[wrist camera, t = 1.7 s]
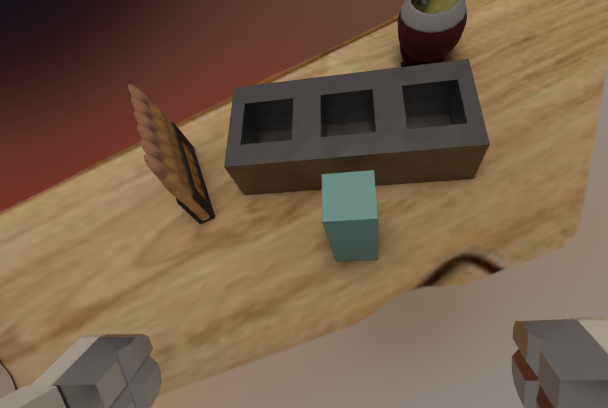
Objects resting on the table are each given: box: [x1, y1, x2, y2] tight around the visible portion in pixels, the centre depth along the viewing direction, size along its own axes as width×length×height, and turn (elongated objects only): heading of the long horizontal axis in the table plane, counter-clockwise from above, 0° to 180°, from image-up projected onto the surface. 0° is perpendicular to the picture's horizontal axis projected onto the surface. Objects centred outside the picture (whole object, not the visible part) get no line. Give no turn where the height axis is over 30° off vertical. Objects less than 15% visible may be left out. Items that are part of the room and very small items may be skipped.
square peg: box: [322, 170, 378, 261], centre depth 32 cm, size 4×4×10 cm
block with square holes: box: [224, 59, 490, 195], centre depth 38 cm, size 24×10×6 cm, turn 90°
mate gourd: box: [398, 0, 467, 67], centre depth 38 cm, size 8×8×15 cm
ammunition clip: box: [128, 84, 215, 224], centre depth 37 cm, size 11×2×12 cm, turn 22°
